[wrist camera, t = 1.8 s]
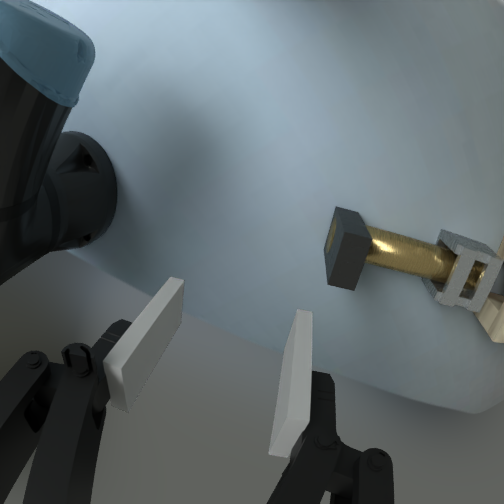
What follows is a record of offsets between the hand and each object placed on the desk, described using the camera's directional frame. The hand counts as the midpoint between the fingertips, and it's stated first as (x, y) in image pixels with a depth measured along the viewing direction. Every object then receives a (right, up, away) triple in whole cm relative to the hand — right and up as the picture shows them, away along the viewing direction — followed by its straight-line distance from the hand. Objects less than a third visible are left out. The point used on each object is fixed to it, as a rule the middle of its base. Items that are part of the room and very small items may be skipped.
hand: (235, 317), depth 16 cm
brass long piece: (+18, +4, +16) cm, 24 cm away
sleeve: (+24, +2, +15) cm, 29 cm away
